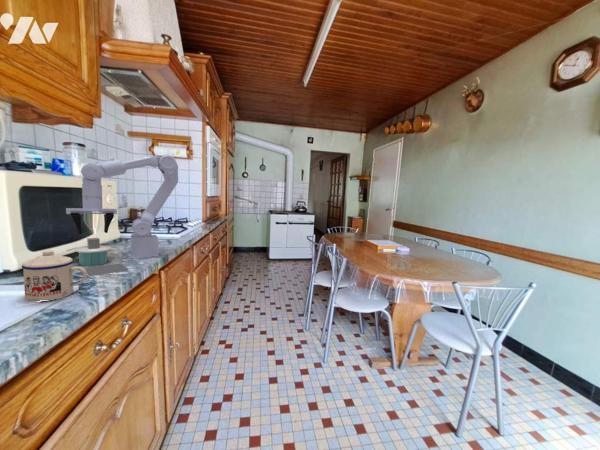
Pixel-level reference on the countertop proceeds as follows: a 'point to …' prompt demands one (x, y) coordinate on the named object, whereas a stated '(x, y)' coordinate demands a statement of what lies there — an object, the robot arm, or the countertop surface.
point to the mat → (106, 269)
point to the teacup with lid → (49, 277)
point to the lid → (93, 246)
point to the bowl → (92, 258)
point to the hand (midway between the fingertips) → (93, 233)
